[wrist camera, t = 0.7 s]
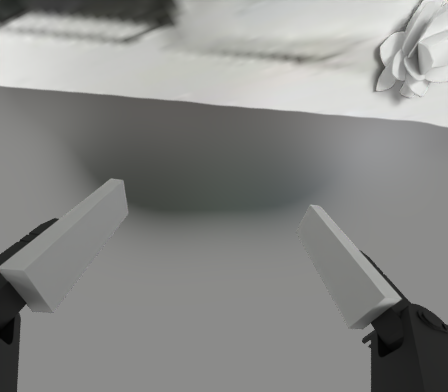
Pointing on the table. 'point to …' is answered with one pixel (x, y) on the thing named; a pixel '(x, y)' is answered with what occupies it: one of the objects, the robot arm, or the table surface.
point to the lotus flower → (417, 51)
